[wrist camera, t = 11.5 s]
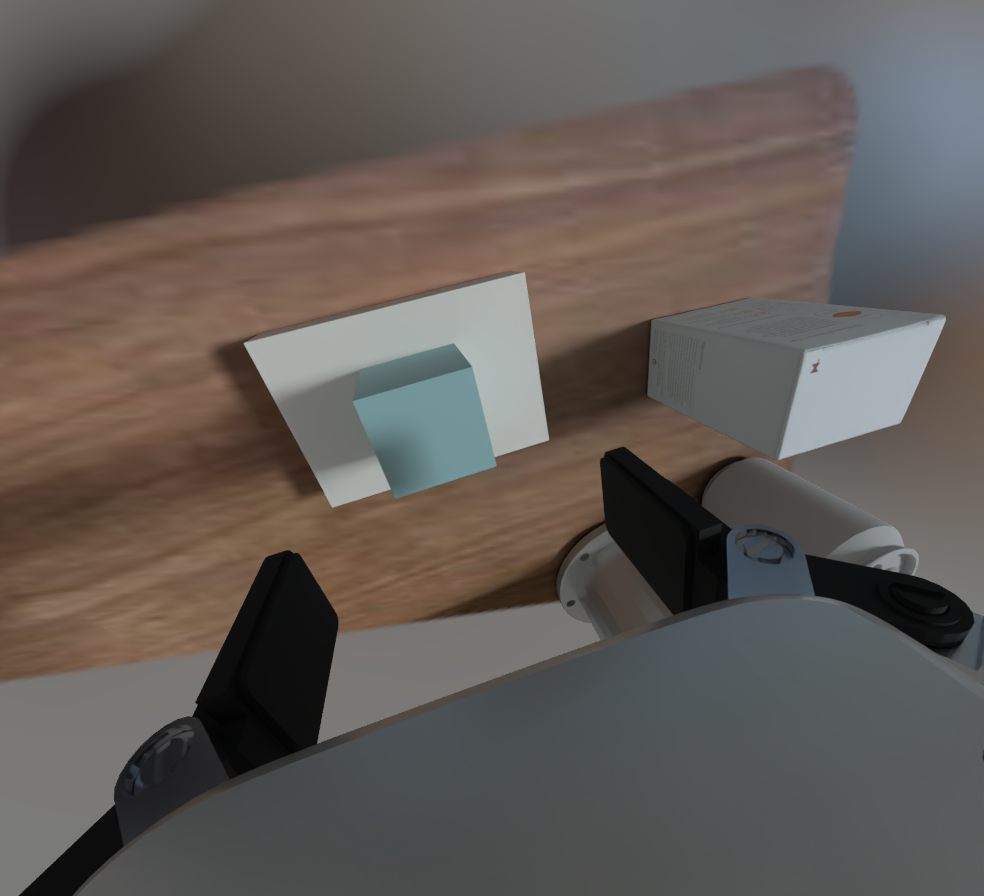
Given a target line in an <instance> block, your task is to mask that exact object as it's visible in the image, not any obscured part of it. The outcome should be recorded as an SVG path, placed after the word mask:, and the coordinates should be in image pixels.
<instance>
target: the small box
mask: <svg viewBox="0 0 984 896" xmlns="http://www.w3.org/2000/svg"><path fill="white" fill-rule="evenodd" d="M945 321H946V317H945V316H944V315H938V314H927V313H917V312H906V311H894V310H883V309H872V308H861V307H849V306H838V305H827V304H815V303H805V302H794V301H783V300H772V299H762V298H748V299H743V300H739V301H735V302H730V303H726V304H721V305H717V306H712V307H708V308H703V309H699V310H694V311H689V312H685V313H681V314H677V315H672V316H667V317H663V318H658V319H653V320H652V321H651V336H650V354H649V373H648V392H647V396H648V397H650V398H652V399H654V400H656V401H658V402H660V403H662V404H664V405H666V406H668V407H670V408H672V409H674V410H676V411H678V412H680V413H682V414H684V415H686V416H688V417H690V418H692V419H694V420H696V421H698V422H700V423H702V424H704V425H706V426H708V427H710V428H712V429H714V430H716V431H718V432H720V433H722V434H724V435H726V436H728V437H730V438H732V439H734V440H736V441H738V442H740V443H742V444H744V445H746V446H748V447H750V448H752V449H754V450H756V451H758V452H760V453H762V454H764V455H766V456H768V457H770V458H772V459H774V460H781V459H784V458H787V457H790V456H793V455H797V454H800V453H803V452H807V451H810V450H813V449H816V448H819V447H823V446H826V445H829V444H832V443H836V442H839V441H842V440H846V439H849V438H852V437H856V436H859V435H862V434H866V433H869V432H872V431H876V430H879V429H882V428H886V427H889V426H892V425H896V424H899V423H900V422H901V420H902V418H903V416H904V414H905V412H906V410H907V408H908V406H909V404H910V401H911V399H912V397H913V394H914V391H915V389H916V387H917V385H918V383H919V381H920V378H921V376H922V373H923V372H924V369H925V367H926V365H927V362H928V360H929V358H930V356H931V353H932V351H933V349H934V346H935V344H936V342H937V340H938V337H939V335H940V333H941V330H942V328H943V326H944V323H945Z"/></svg>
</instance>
